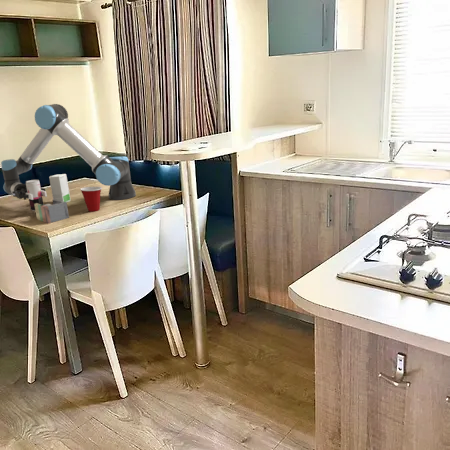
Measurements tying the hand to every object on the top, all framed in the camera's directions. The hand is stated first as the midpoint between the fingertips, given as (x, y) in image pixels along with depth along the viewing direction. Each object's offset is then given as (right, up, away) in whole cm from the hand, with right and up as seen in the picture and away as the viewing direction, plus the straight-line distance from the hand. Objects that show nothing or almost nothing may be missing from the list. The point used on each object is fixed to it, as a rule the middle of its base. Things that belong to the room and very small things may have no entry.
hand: (39, 195), depth 240 cm
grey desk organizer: (+9, -12, -5) cm, 15 cm away
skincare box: (+2, -2, +28) cm, 28 cm away
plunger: (+3, -10, 0) cm, 11 cm away
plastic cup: (+26, -7, +6) cm, 28 cm away
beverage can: (-3, -7, +6) cm, 10 cm away
